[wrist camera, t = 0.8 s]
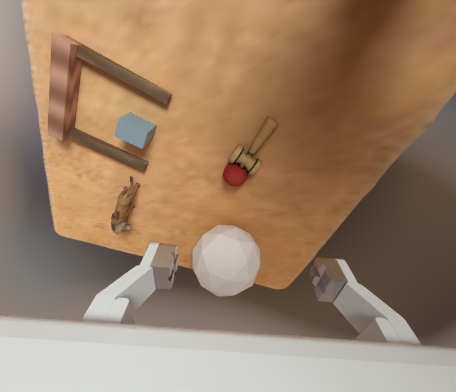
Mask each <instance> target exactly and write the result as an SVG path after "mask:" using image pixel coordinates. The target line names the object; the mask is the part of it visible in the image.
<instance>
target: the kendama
mask: <svg viewBox="0 0 456 392" xmlns="http://www.w3.org/2000/svg"><path fill="white" fill-rule="evenodd" d="M278 125H279V124H278V123H277V122H276V121H274V120H273V119H271V118H270V117H267V119H266V121H265V122H264V124H263V126H262V128H261V129H260V131H259V132H258V135H257V136H256V137H255V139H254V141H253V143H252V144H251V147H250V148H249V150H248V153H247V154H246V153H245V151H244V148H243V146H242V145H240V144H239V145H238V146H237V147H236V148H235V150H234V151H233V153H232V154H231V156H230V157H229V159H228V161H229V162H230V164H228V165H227V166H226V168H225V169H224V174H223V175H224V179H225V181H226V182H227V183H228V184H229V185H231V186H240V185H242V184H243V183H244V182H245V181H246V180H247V177H248V174H249V175H253V174H254V173H255V172H256V171H257V170H258V168H259V167H260V165H261V163H262V161H261V160H260V159H259V158H258V159H253V158H252V156H253V155H254V154H255V153H256V151H257V150H258V149H259V148H260V147H261V146H262V145H263V143H264V142H265V140H267V138H268V137H269V136H270V135H271V133H272V132H273V131H274V130H275V128H276V127H277V126H278Z"/></svg>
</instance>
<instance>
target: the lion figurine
mask: <svg viewBox="0 0 456 392" xmlns="http://www.w3.org/2000/svg"><path fill="white" fill-rule="evenodd" d="M130 182H131V185H130V187H129V189H128V187H126V186H125V187H124V190H123V191H122V193H121V194H120V195H119V197H118V201H117V205H116V209H115V212H114V213H113V214H112V217H111V219H112V221H111V225H112V226H111V227H112V230H113V231H114V232H115V233H116V234H119V233H121V232H124V231H129V230H130V224H127V222H128V221H127V219H128V216H129V213H130V212H131V209H132V208H134V207H135V205H134V204H130V206H129V203H130V202H131V200H132V199H133V198H134V196H135V193H136V190H137V188H138V187H140V184H139V183H136V185H135V187H134V190H133V192H132V193H131V194H129V192H130V190H131V188H132V185H133V178H132V176H130ZM127 190H128V191H127ZM126 191H127V192H126ZM128 194H129V195H128ZM128 207H129V208H128Z"/></svg>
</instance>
